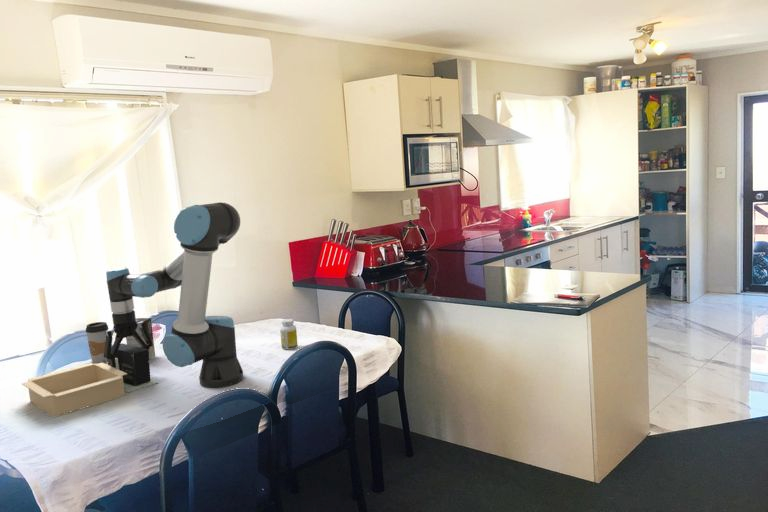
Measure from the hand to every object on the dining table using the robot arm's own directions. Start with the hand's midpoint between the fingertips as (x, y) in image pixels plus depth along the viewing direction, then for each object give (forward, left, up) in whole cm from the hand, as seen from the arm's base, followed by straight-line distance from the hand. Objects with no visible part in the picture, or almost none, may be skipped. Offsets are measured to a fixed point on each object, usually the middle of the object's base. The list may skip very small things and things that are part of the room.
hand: (131, 371), depth 232 cm
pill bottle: (-16, -59, -4) cm, 61 cm away
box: (0, +1, -3) cm, 3 cm away
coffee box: (+21, -14, -4) cm, 25 cm away
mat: (0, +1, -3) cm, 4 cm away
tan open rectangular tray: (-2, +20, -3) cm, 20 cm away
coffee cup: (+34, -3, -4) cm, 34 cm away
